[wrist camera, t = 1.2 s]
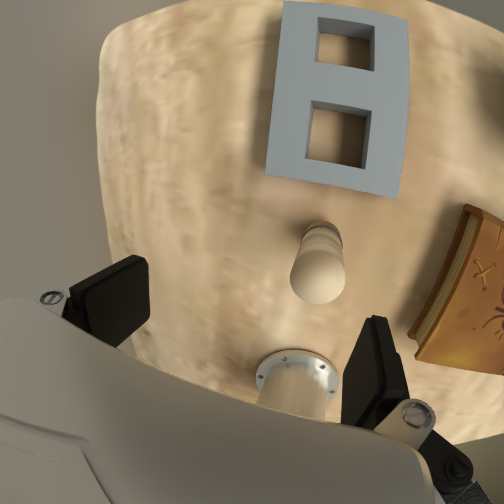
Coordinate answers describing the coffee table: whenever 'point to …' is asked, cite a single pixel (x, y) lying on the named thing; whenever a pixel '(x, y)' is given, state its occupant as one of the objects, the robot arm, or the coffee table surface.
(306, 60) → the board
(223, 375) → the coffee table surface
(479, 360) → the diary
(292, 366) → the robot arm
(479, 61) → the coffee table surface
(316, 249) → the dowel
